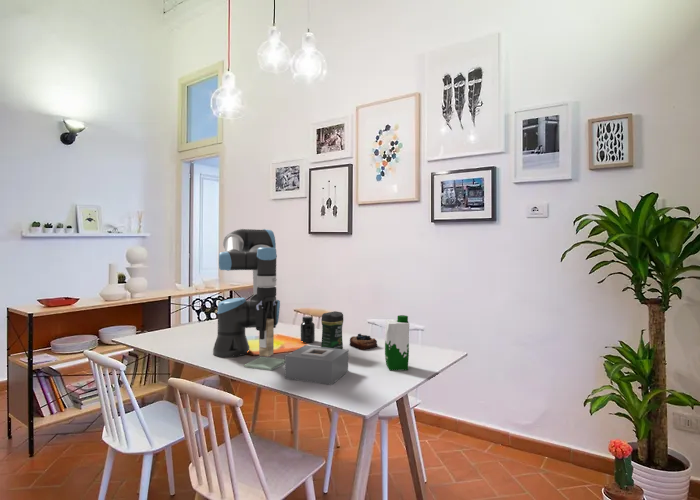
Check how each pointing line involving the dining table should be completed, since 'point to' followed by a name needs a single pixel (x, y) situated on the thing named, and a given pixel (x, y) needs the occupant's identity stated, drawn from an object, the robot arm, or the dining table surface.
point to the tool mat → (265, 363)
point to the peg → (268, 339)
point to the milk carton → (397, 343)
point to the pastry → (363, 342)
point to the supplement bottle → (308, 330)
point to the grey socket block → (316, 364)
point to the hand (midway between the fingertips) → (266, 345)
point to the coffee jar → (332, 330)
